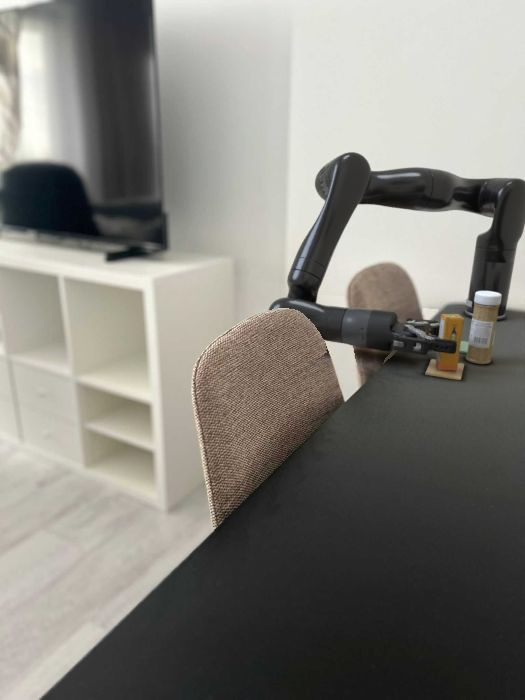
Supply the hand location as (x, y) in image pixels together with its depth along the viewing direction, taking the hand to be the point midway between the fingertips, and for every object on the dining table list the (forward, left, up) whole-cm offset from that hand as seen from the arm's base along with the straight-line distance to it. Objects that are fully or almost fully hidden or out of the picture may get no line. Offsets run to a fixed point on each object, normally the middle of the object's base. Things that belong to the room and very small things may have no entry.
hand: (458, 340), depth 92 cm
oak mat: (0, -2, -6) cm, 6 cm away
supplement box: (0, -2, -6) cm, 6 cm away
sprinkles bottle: (-8, +4, -6) cm, 11 cm away
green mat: (-15, -2, -6) cm, 16 cm away
